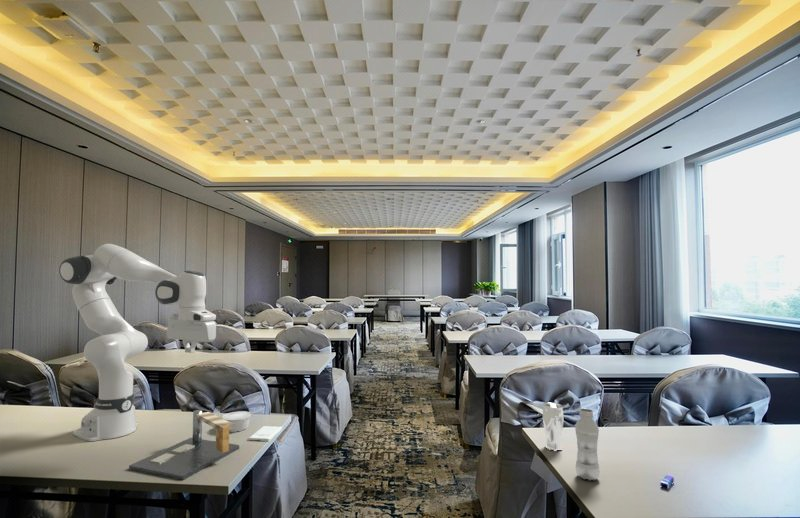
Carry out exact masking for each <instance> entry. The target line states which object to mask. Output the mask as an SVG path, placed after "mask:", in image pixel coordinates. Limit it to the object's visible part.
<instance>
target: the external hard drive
mask: <svg viewBox="0 0 800 518" xmlns="http://www.w3.org/2000/svg"><path fill="white" fill-rule="evenodd" d="M282 430H283V427H282V426H270V425H263V426H261V428H258V430H257V431H255V432H254V433H253V434H252V435H250V436H249V437H248V438H247V441H248V440H262V441H261V442H271V440H272V439H273V438H274V437H276V436H277V435H278V434H279V433H280V432H282Z"/></svg>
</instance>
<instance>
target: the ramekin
mask: <svg viewBox="0 0 800 518" xmlns="http://www.w3.org/2000/svg"><path fill="white" fill-rule="evenodd" d="M251 416H252V414H251V412H249V411H244V410H243V411H242V410H241V411H239V410H238V411H232V412H228V413H226V414H225V413H224V414H223V415H222V416H221V418H222V419H225V420H227V421H229V422H231V423H233V428H232V429H229V433H238V432H237V431H239V432H242V430H243V431H245V430H246V428H247V429H248V427H249V426H250V422H251ZM244 429H245V430H244Z"/></svg>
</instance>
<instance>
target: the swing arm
mask: <svg viewBox="0 0 800 518" xmlns="http://www.w3.org/2000/svg"><path fill="white" fill-rule="evenodd" d="M197 419H199V420H201V421H202V423H205V424H206V425H208V426H210V427H212V428H214V429H215V430H216V431H215V432H216V433H215V441H216V449H217V450H218V451H220V452H222V453H224V452H227V451H229V444H230V432H229V429H232V428H233V423H231V422H229V421H227V420H225V419H222V417H221V416H218V415H216V414H214V413H212V412H210V411H207V412H206V411H205V412H202V413H201V414H197Z"/></svg>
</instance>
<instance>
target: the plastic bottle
mask: <svg viewBox="0 0 800 518" xmlns="http://www.w3.org/2000/svg"><path fill="white" fill-rule="evenodd" d="M579 417H580V418H579V419H578V420H577V421H576V423H575V426H574V430H575V435H576V445H577V447H576V448H577V453H576V454H577V455H576V463H575V471H576V474H577V476H578V477H579V478H580V477H581V479H582V478H583V480H585V479H588V480H587V481H591V480H593V481H597V480H598V479H599V477H600V474H601V470H600V465H599V459H598V439H599V431H600V429H599V426H598V424H597V423H596V422H595V420H594V419H593V418H594V410H592V409H590V408H580V409H579ZM596 479H597V480H596Z"/></svg>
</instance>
